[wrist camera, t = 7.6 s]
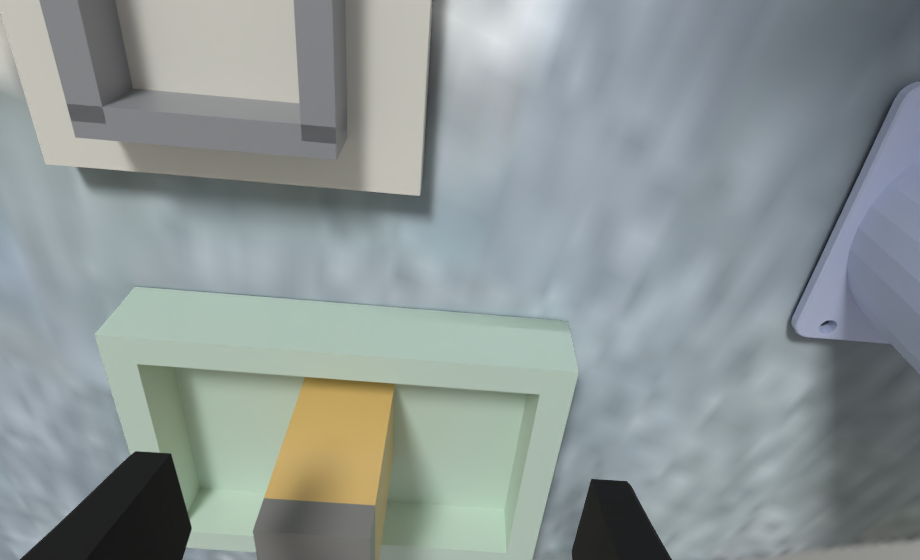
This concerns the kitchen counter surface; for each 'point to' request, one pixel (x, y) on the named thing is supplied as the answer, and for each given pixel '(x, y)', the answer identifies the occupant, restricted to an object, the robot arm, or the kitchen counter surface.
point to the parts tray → (360, 359)
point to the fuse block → (230, 87)
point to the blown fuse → (330, 475)
